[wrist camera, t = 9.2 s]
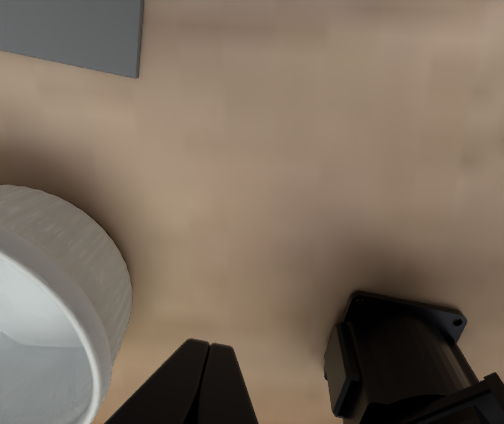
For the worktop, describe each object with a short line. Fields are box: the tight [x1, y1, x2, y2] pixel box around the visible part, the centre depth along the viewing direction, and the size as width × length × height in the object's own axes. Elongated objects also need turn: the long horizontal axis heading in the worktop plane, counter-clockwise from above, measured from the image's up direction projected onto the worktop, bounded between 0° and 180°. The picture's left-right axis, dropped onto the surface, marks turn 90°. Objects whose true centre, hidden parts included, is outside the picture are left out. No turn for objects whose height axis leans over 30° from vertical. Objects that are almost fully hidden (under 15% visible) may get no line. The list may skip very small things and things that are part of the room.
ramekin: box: [0, 185, 132, 424], centre depth 20 cm, size 13×13×7 cm
